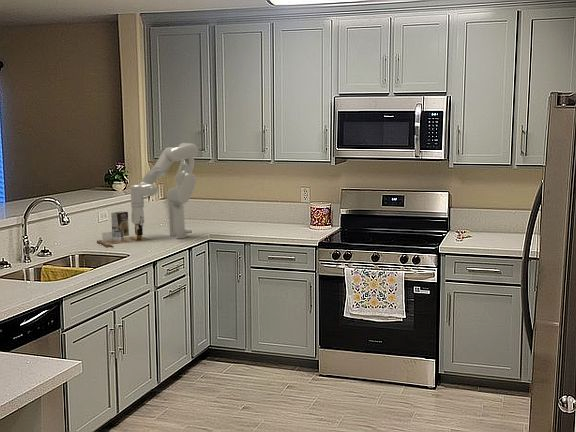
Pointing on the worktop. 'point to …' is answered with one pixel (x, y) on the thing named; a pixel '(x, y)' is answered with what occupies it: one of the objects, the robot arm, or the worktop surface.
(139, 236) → the brass pin
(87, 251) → the worktop surface
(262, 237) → the worktop surface
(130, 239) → the walnut board
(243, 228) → the worktop surface
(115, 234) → the clear container
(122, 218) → the coffee box
